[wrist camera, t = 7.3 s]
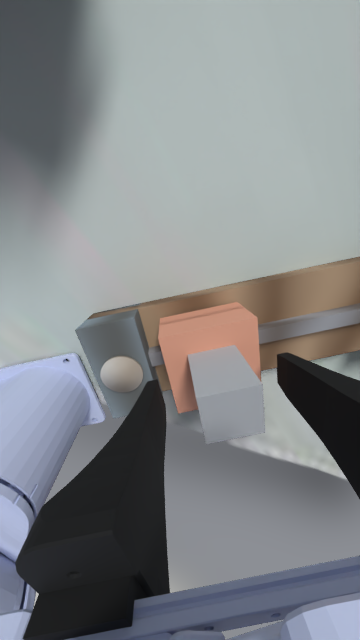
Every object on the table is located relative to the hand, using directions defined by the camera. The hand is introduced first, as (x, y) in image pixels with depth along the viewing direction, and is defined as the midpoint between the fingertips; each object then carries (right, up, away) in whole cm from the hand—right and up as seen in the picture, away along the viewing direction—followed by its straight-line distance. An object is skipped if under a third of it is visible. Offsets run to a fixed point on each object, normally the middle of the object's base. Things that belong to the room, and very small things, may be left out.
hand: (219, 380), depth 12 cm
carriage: (0, +2, +4) cm, 5 cm away
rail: (+5, +3, +6) cm, 8 cm away
